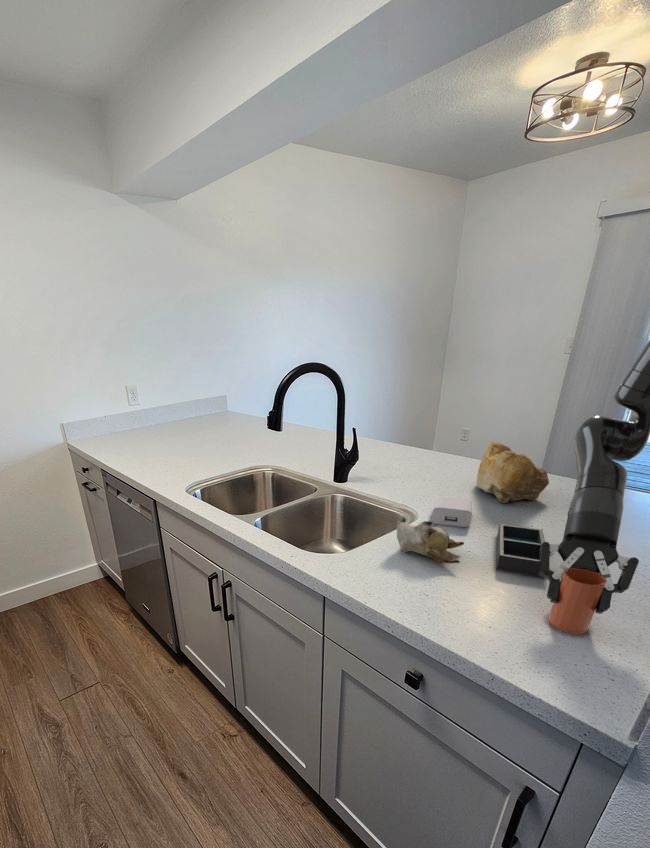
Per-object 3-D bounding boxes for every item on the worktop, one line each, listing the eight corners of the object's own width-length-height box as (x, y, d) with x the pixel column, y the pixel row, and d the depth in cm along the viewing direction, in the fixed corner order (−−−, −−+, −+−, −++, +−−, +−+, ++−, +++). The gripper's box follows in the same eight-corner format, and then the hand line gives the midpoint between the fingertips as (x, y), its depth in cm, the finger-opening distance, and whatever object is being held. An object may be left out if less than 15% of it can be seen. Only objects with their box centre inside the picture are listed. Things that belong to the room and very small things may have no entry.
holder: (538, 542, 104) (542, 529, 103) (544, 577, 91) (548, 563, 89) (496, 536, 108) (499, 523, 106) (496, 569, 95) (499, 555, 93)
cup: (585, 618, 79) (602, 571, 74) (590, 637, 74) (609, 588, 70) (547, 610, 81) (562, 564, 77) (549, 628, 77) (565, 581, 72)
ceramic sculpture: (403, 506, 105) (470, 520, 99) (397, 537, 110) (461, 552, 103) (393, 524, 97) (465, 540, 91) (387, 557, 102) (456, 574, 95)
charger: (469, 506, 125) (469, 527, 113) (435, 502, 129) (431, 523, 117) (472, 491, 123) (472, 511, 111) (437, 487, 127) (433, 506, 115)
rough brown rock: (556, 515, 119) (576, 462, 112) (490, 508, 121) (507, 456, 115) (525, 487, 139) (540, 441, 133) (470, 482, 142) (482, 437, 135)
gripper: (549, 503, 78) (530, 591, 75) (654, 517, 71) (637, 615, 68) (542, 518, 84) (524, 600, 81) (638, 533, 77) (622, 623, 74)
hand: (576, 606), depth 74 cm, fingers closed on cup, 6 cm apart
